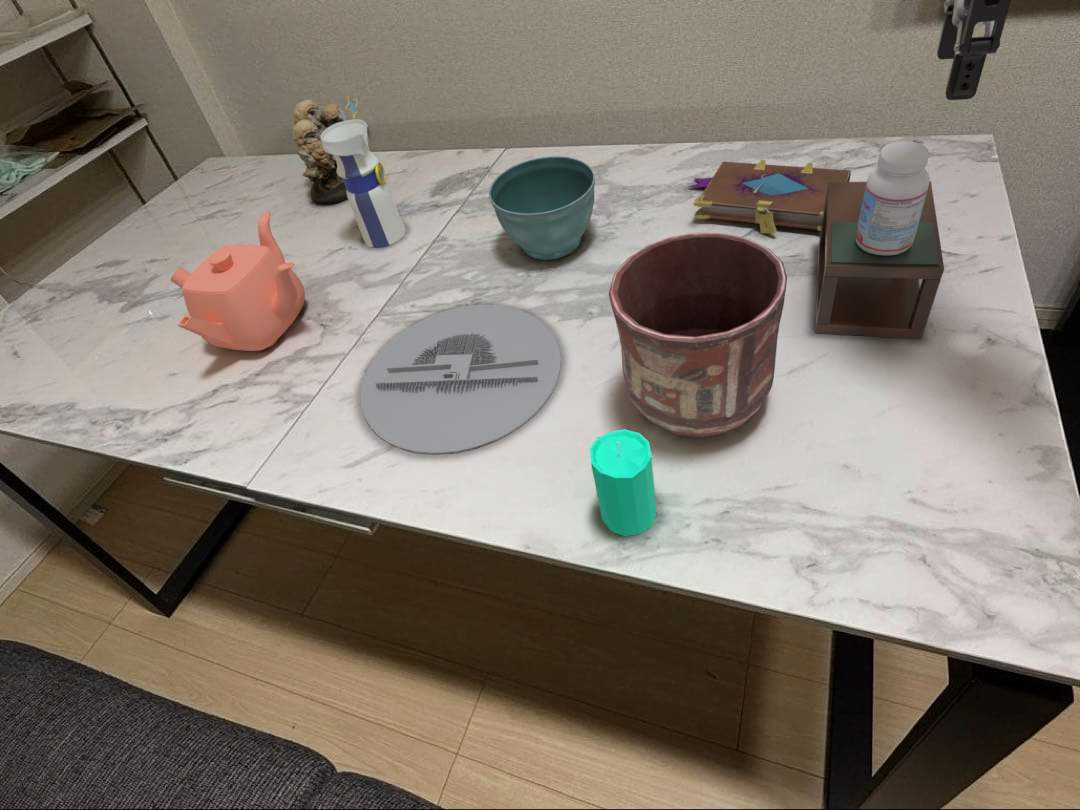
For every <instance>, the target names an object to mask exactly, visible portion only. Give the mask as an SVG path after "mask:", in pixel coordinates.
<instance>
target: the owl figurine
mask: <svg viewBox="0 0 1080 810" xmlns="http://www.w3.org/2000/svg"><path fill="white" fill-rule="evenodd" d="M292 115H293V117H292V121H293V124H292V140H293V141H294V143H295V144H296V146H295V153H296V154H297V155H298V156H299V158H300V159H301V161H303V163H304V165H305V167H306V168H305V171H304V172H302V176H303V178H304V177H305V178H307V179H309V181H310V182H313V183H312V185H311V187H310V191H309V194H310V198H311V201H312V202H315V203H316V204H337V203H340V202H343V201H346V200H348V198H347V189H346V187H345V184H344V182H343V180H342V177H340V176H338V174H337V162H336V159H335V157H334V156H333V155H332V154H329V153H327V152H325V151H324V150H323V147H322V143H321V134H322V132H323V131H324V130H325V129H327V128H328V127H330V126H332V125H334V124H336V123H339V122H342V121H347V120H350V119H349V118H348V116H347V115H346V114H345V112H344V111H343V109H342V108H341V107H340V106H339V105H338V104H336V103H329V104H327V105H326V106H324V107H323V108H322V109H321V111H320V109H319V106H318V104H317V102H315V101H313V100H311V99H305V100H303V101H300V102H298V103H297V104H296V105H295V106H294V108H293V113H292Z"/></svg>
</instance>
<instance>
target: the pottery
mask: <svg viewBox="0 0 1080 810" xmlns="http://www.w3.org/2000/svg"><path fill="white" fill-rule="evenodd" d="M787 282H788V274H787V271H786V268H785V266H784V262H783V261H782V259H781V258H779V257H778V256H777V255H776V253H774V252H773V251H772V250H771V249H770V248H769V247H767V246H765V245H762V244H760V243H758V242H756V241H754V240H753V239H750V238H748V237H743V236H739V235H733V234H730V233H726V232H725V233H724V232H692V233H686V234H680V235H675V236H674V235H673V236H669V237H667V238H664V239H661V240H659V241H656V242H653V243H650V244H648V245H647V246H645V247H643V248H641V249H640V250H638V251H637V252H635V253H633V254H631V256H629V257H627V258H626V260H625V261H624V262H623V263H622V264H621V265H620V267H619V268H618V269H617V270H616V271H615V272H614V274H613V275H612V280H611V283H610V287H609V291H608V298H609V303H610V306H611V310H612V313H613V317H614V320H615V324H616V328H617V333H618V338H619V342H620V343H619V344H620V349H621V350H620V351H621V365H622V366H621V367H622V374H623V379H624V383H625V386H626V390H627V393H628V396H629V399H630V401H631V403H632V405H633V406H634V407H635V408H636V409H637V410H638V411H639V412H640V413H641V414H642V415H643V416H644V417H645V418H646V420H648V421H650V423H651V424H653V425H655V426H657V427H659V428H661V429H663V430H666V431H668V432H670V433H671V434H674V435H679V436H687V437H695V438H705V437H710V436H717V435H723V434H725V433H727V432H730V431H732V430H734V429H737V428H739V427H741V426H742V425H743V424H744V423H746V422H747V421H748V420H749V419H750V418H752V417H753V416H754V415H755V414H756V413H757V412H758V411H759V410H760V409H761V407H762V405H763V404H764V403H765V400H766V399H767V396H768V395H769V393H770V391H771V390H772V387H773V384H774V377H775V371H776V370H775V369H776V360H777V359H776V358H777V347H778V337H779V331H780V324H781V319H782V315H783V310H784V306H785V299H786V290H787Z"/></svg>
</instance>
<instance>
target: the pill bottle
mask: <svg viewBox="0 0 1080 810" xmlns="http://www.w3.org/2000/svg"><path fill="white" fill-rule="evenodd" d="M929 158H930V150H929V148H928V147H926V146H925V145H924V144H922V143H919V142H916V141H910V140H902V141H901V140H900V141H893V142H890V143H888V144H886V145H884V146H883V147H882V148H881V149H880V152H879V156H878V159H877V166H876V167H874V168H873V169H871V171H870V172H869V174H868V176H867V178H866V182H867V183H866V187H865V192H864V197H863V202H862V207H861V212H860V217H859V222H858V227H857V232H856V243H857V245H858V246H859V247H860V248H861V249H862V250H864V251H866V252H868V253H871V254H874V255H883V256H891V255H897V254H900V253H903V252H905V251H906V250H908V249H909V248H910V247H911V246H912V244H913V241H914V238H915V235H916V231H917V227H918V224H919V220H920V217H921V213H922V209H923V205H924V202H925V198H926V194H927V190H928V187H929V182H930V181H931V177H930V174H929V172H928V170H927V169H926V167H927V165H928V161H929Z"/></svg>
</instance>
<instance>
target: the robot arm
mask: <svg viewBox="0 0 1080 810" xmlns="http://www.w3.org/2000/svg"><path fill="white" fill-rule="evenodd" d="M1011 1H1012V0H945V1H944V3H943V9H944V13H945V16H944V19H943V24H942V29H941V33H940V38H939V42H938V46H937V50H936V55H937V58H938V59H939V60H952V63H951V68H950V71H949V74H948V75H949V76H948V80H947V84H946V88H945V92H944V93H945V97H946V99H947V100H949V101H961V100H962V101H963V100H970V99H973V98H974V97H975V96H976V94H977V91H978V88H979V84H980V80H981V77H982V73H983V69H984V66H985V62H986V58H987V55H989V54H997V51H998V49H999V48H1000V46H1001V39H1002V35H1003V31H1004V28H1005V23H1006V21H1007V16H1008V13H1009V9H1010V6H1011ZM978 24H984V26H985V29H984V35H983V36H973V35H974V31H975V30H974V29H975V26H977V25H978Z"/></svg>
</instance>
